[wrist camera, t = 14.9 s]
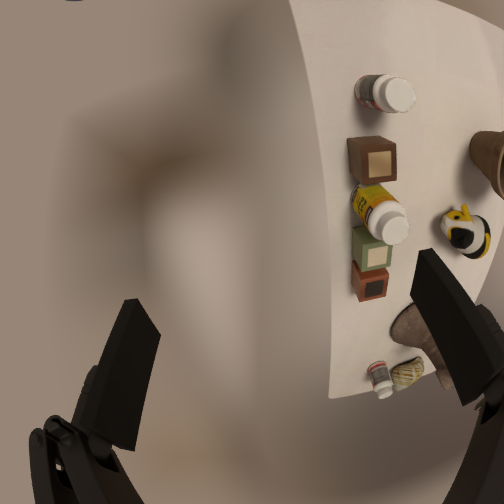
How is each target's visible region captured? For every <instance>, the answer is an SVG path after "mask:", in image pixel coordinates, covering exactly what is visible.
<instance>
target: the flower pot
mask: <svg viewBox="0 0 504 504" xmlns="http://www.w3.org/2000/svg"><path fill="white" fill-rule="evenodd" d="M470 155H471V158H472V161H473V162H474V164H475V165H476V166H477V167H478V168H479V170H480V171H481V172H482V173H483V174H484V175H485V176H486V177H487V178H488V179H489V180H490V182H491V185H492V188H493V190H494V191H495V192H496V193H497V194H498V195H499V196H500V197H501V198H502V199H503V200H504V131H503V132H494V131H480V132H478V133H476V134H475V135H474V137H473V138H472V141H471V144H470Z"/></svg>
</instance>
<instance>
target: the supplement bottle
mask: <svg viewBox="0 0 504 504" xmlns="http://www.w3.org/2000/svg"><path fill="white" fill-rule="evenodd" d="M351 203H352V206H353V208H354V210H355V211H356V213H357V214H358V215H359V217H360V218H361V220H362V221H363V223H364V224H365V226H366V227H367V228H368V230H369V231H370V233H371V234H372V235H373V236H374V237H375V238H376V239H378V240H382V241H384V242H385V243H386V244H388V245H397V244H399V243H401V242H402V241H403V240H404V239H405V238H406V237H407V235H408V233H409V229H410V225H409V222H408V220H407V215H406V211H405V209H404V207H403V206H402V205H401V204H400V203H399V202H398V201H397V200H396V199H395V198H394V197H393V196H392V195H391V194H390V193H389V192H388V191H386V190H385V189H384V188H383V187H382V186H381V185H380V184H379V183H372V184H364V185H363V184H362V183H360V184H359V185H357V186H356V187H355V189H354V190H353V192H352V196H351Z"/></svg>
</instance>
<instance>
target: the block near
mask: <svg viewBox="0 0 504 504" xmlns="http://www.w3.org/2000/svg"><path fill="white" fill-rule="evenodd" d="M347 142H348V153H349V165H350V173H351V174H352V175H353V176H354V177H355V178H356V179H357V180H358V181H359V182H361V183H362V184H363V185H364V184H372V183H380V182H389V181H396V180H397V159H396V143H394V142H392V141H389V140H387V139H385V138H383V137H381V136H368V137H355V138H347Z"/></svg>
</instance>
